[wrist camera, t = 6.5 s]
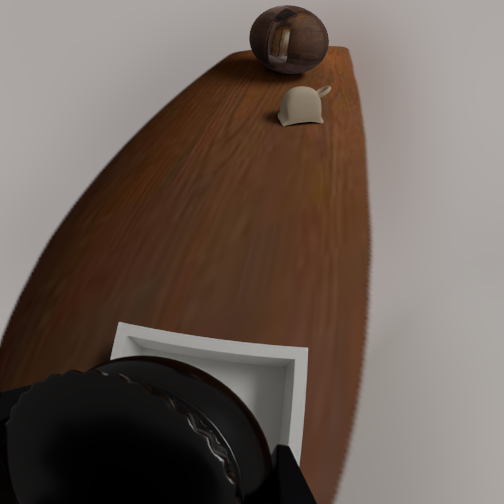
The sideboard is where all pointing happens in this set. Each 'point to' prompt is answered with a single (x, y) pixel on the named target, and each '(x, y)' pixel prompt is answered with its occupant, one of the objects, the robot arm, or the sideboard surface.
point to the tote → (237, 374)
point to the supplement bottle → (135, 438)
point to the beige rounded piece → (301, 105)
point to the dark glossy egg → (289, 39)
